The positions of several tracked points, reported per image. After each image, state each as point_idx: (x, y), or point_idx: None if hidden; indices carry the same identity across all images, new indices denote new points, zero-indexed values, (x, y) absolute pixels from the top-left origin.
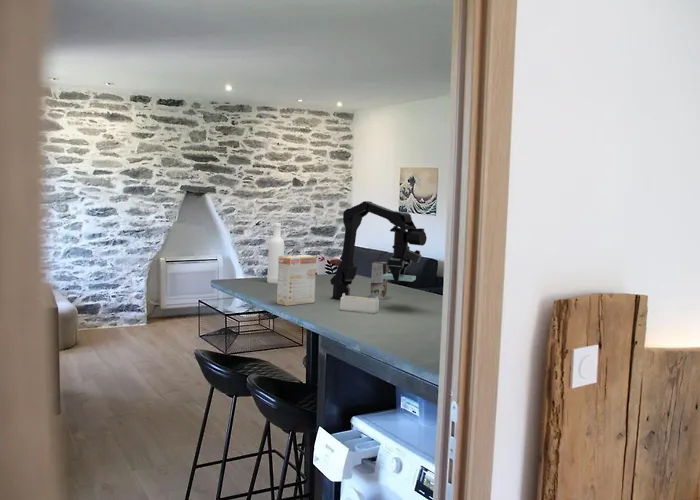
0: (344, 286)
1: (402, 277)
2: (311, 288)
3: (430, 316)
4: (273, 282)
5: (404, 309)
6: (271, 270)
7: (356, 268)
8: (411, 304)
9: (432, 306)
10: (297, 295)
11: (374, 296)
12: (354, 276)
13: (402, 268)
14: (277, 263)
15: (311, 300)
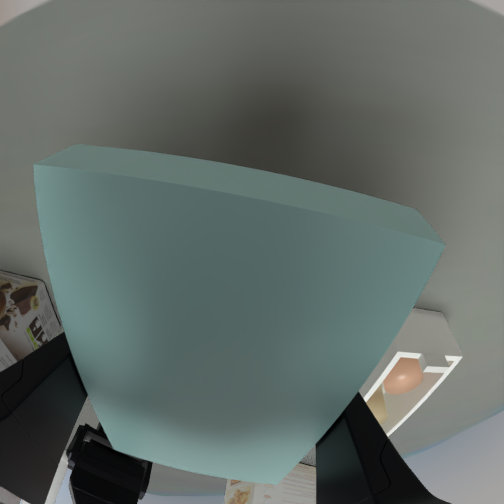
0: None
1: (359, 380)
2: (266, 490)
3: (454, 20)
4: None
5: (264, 162)
6: (64, 474)
7: (74, 479)
8: (65, 136)
9: (72, 12)
10: (307, 485)
11: (50, 320)
12: (84, 450)
13: (28, 431)
14: (53, 481)
15: None
